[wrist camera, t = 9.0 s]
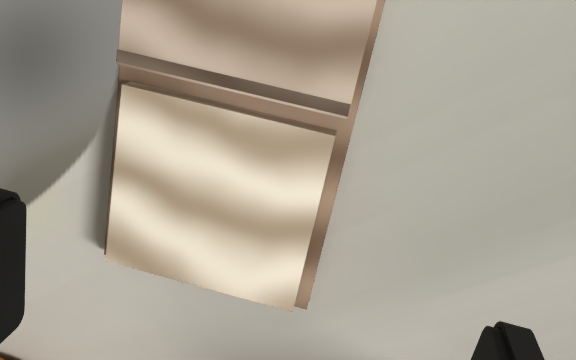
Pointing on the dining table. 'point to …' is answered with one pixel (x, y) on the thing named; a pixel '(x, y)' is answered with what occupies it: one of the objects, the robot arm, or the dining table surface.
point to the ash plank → (215, 193)
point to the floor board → (258, 68)
